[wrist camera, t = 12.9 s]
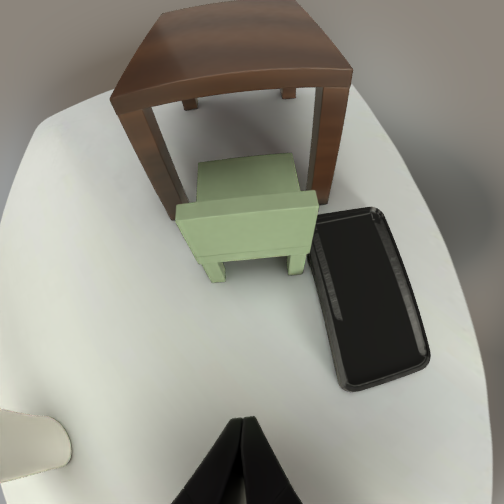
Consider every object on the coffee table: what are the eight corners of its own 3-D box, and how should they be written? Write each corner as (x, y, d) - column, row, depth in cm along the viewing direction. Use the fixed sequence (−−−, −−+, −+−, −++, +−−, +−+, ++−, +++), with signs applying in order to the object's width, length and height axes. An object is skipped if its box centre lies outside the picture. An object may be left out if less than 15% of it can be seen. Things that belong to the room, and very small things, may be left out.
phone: (379, 205, 25) (433, 364, 19) (376, 212, 26) (427, 366, 20) (299, 217, 25) (342, 395, 18) (298, 224, 26) (339, 395, 20)
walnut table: (327, 205, 27) (353, 69, 14) (171, 221, 28) (108, 99, 15) (293, 91, 36) (292, -3, 23) (185, 103, 37) (161, 13, 24)
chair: (305, 274, 24) (319, 206, 16) (209, 283, 25) (174, 221, 16) (290, 188, 28) (293, 109, 20) (209, 197, 29) (185, 121, 20)
